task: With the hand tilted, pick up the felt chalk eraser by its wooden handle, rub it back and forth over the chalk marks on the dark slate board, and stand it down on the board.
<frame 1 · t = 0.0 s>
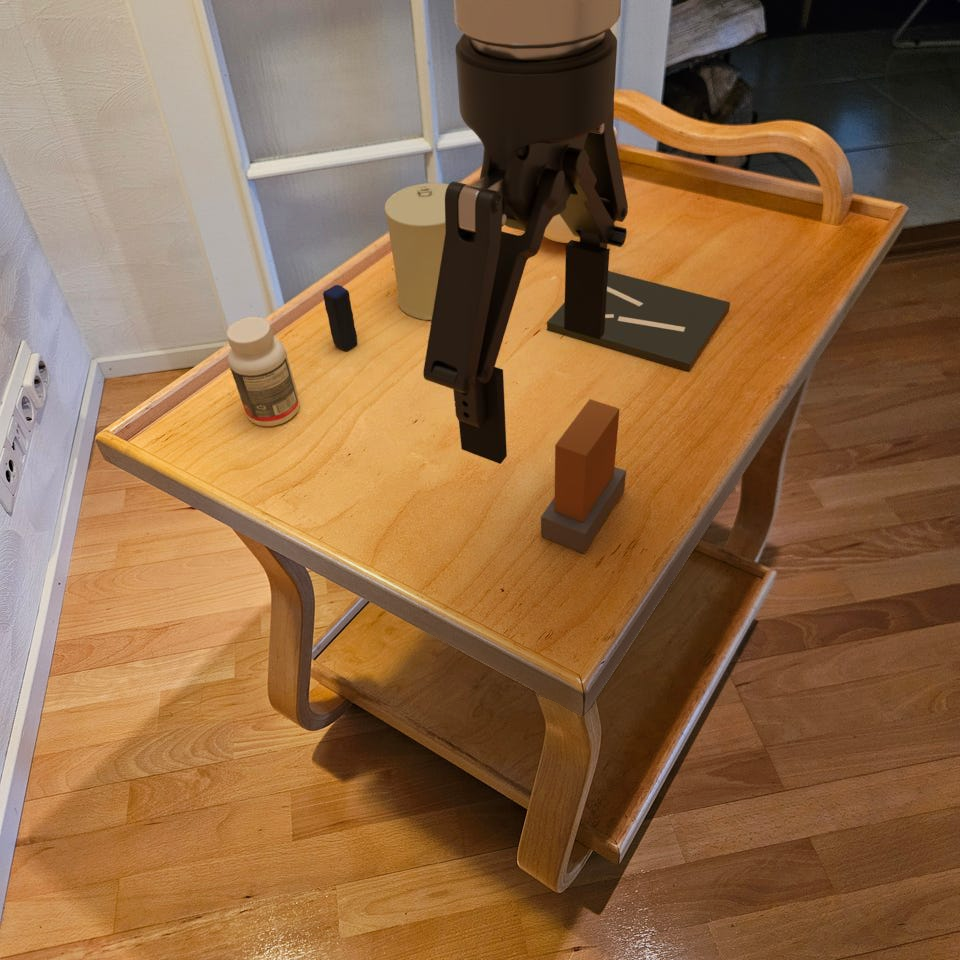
hand: (537, 388, 53), 19 cm above the serving cart, tool pointing down, fingers open, 13 cm apart
piggy bank: (567, 235, 103), on the serving cart
can: (438, 298, 95), on the serving cart
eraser: (346, 346, 89), on the serving cart
pill bottle: (274, 411, 82), on the serving cart
chalk eraser: (583, 513, 71), on the serving cart
slate board: (638, 319, 89), on the serving cart
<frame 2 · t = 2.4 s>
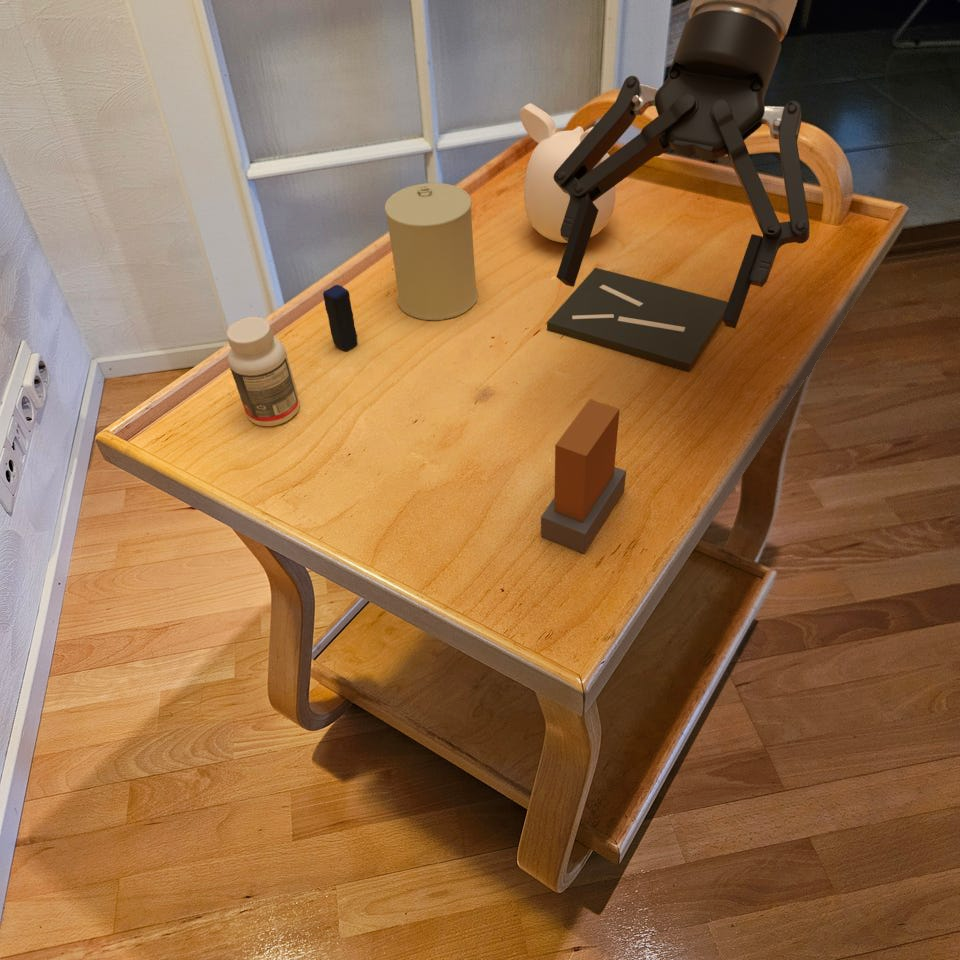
hand: (643, 302, 65), 15 cm above the serving cart, tool tilted 45°, fingers open, 13 cm apart
nothing on the serving cart moved.
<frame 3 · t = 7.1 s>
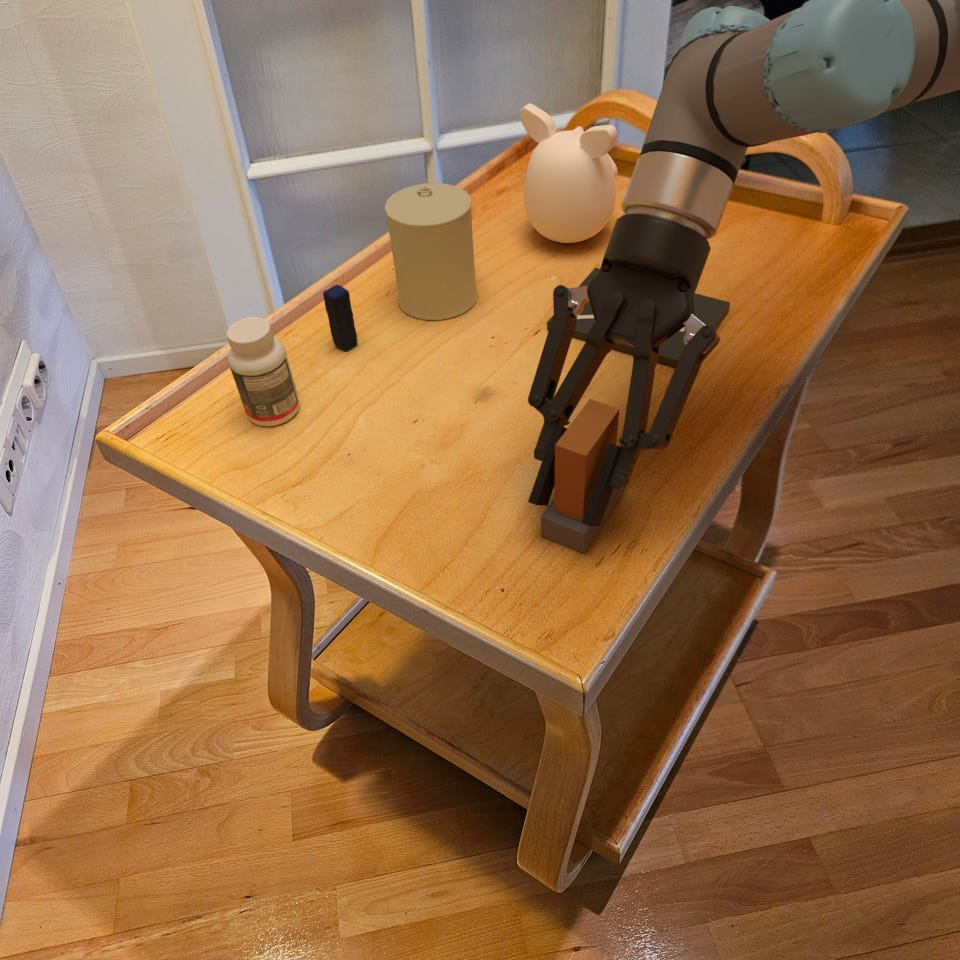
hand: (564, 513, 66), 4 cm above the serving cart, tool tilted 45°, fingers closed on chalk eraser, 4 cm apart
chalk eraser: (583, 513, 71), on the serving cart, touching gripper
everything else where it was.
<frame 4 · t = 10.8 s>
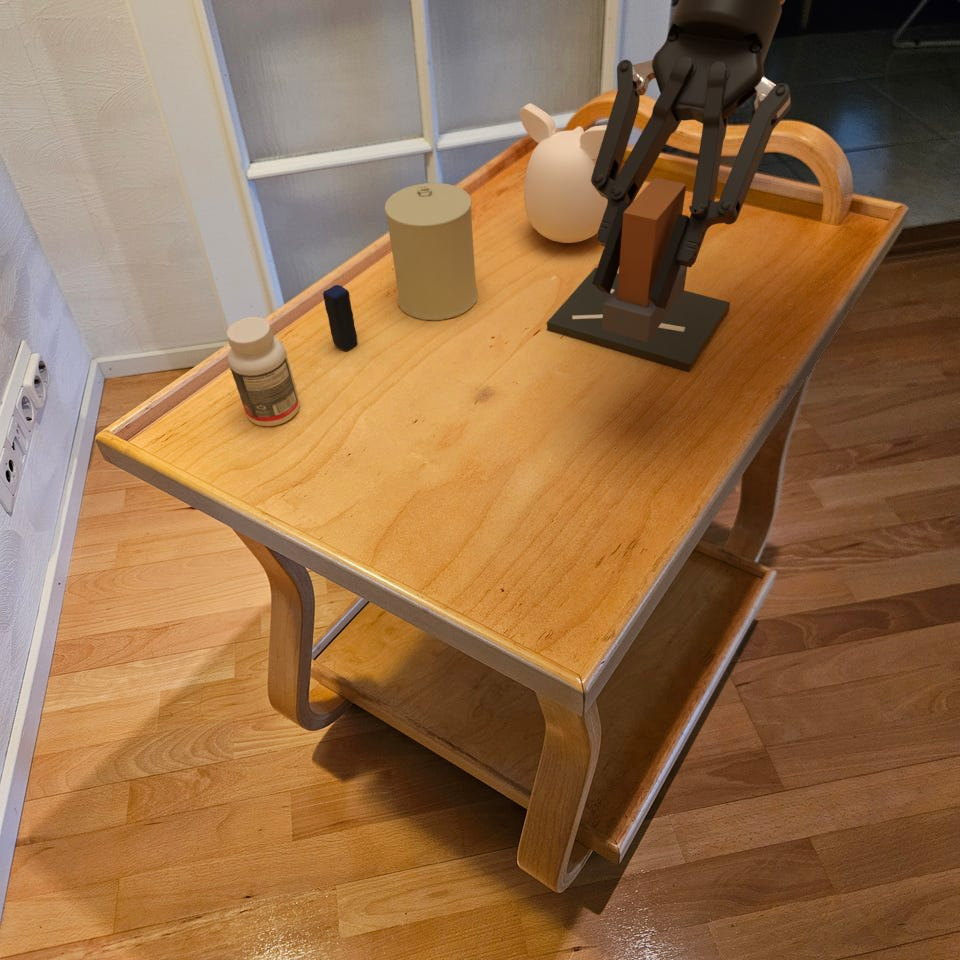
hand: (629, 295, 64), 16 cm above the serving cart, tool tilted 45°, fingers closed on chalk eraser, 4 cm apart
chalk eraser: (643, 310, 69), point 13 cm above the serving cart, touching gripper
everything else where it was.
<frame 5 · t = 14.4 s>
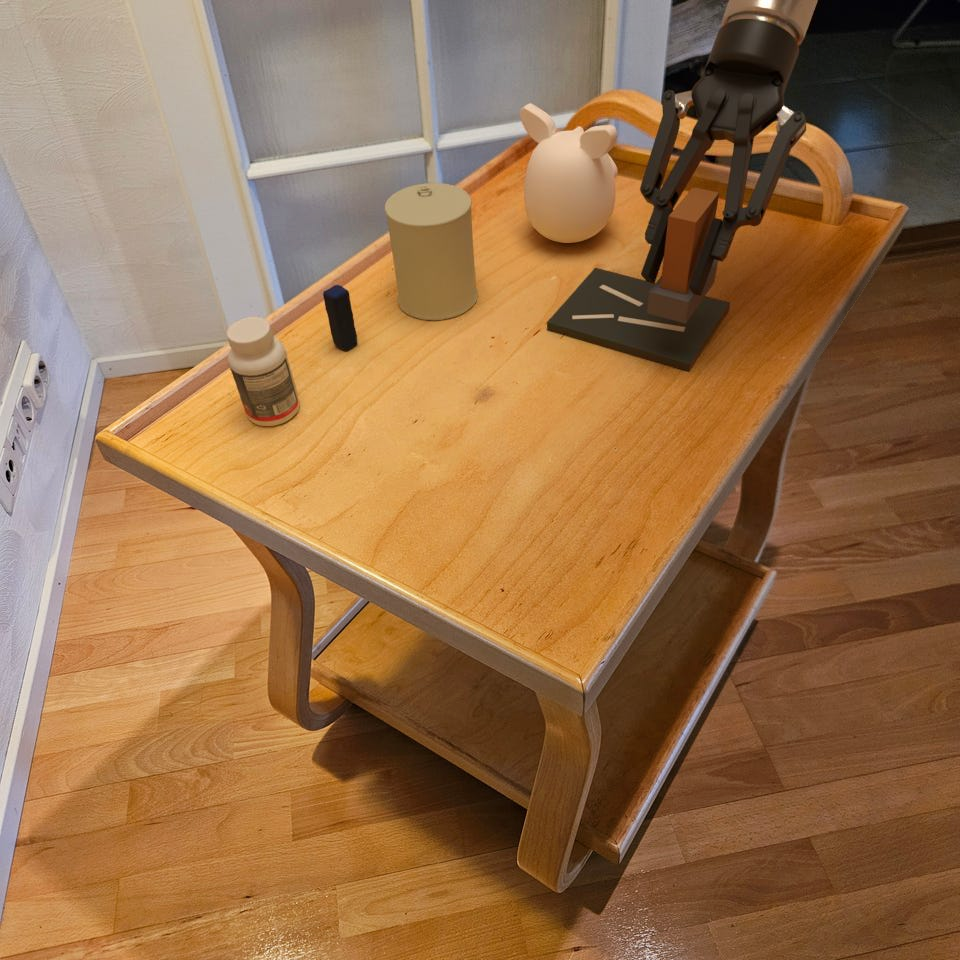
hand: (671, 284, 78), 9 cm above the serving cart, tool tilted 45°, fingers closed on chalk eraser, 4 cm apart
chalk eraser: (681, 297, 82), point 5 cm above the serving cart, touching gripper
everything else where it was.
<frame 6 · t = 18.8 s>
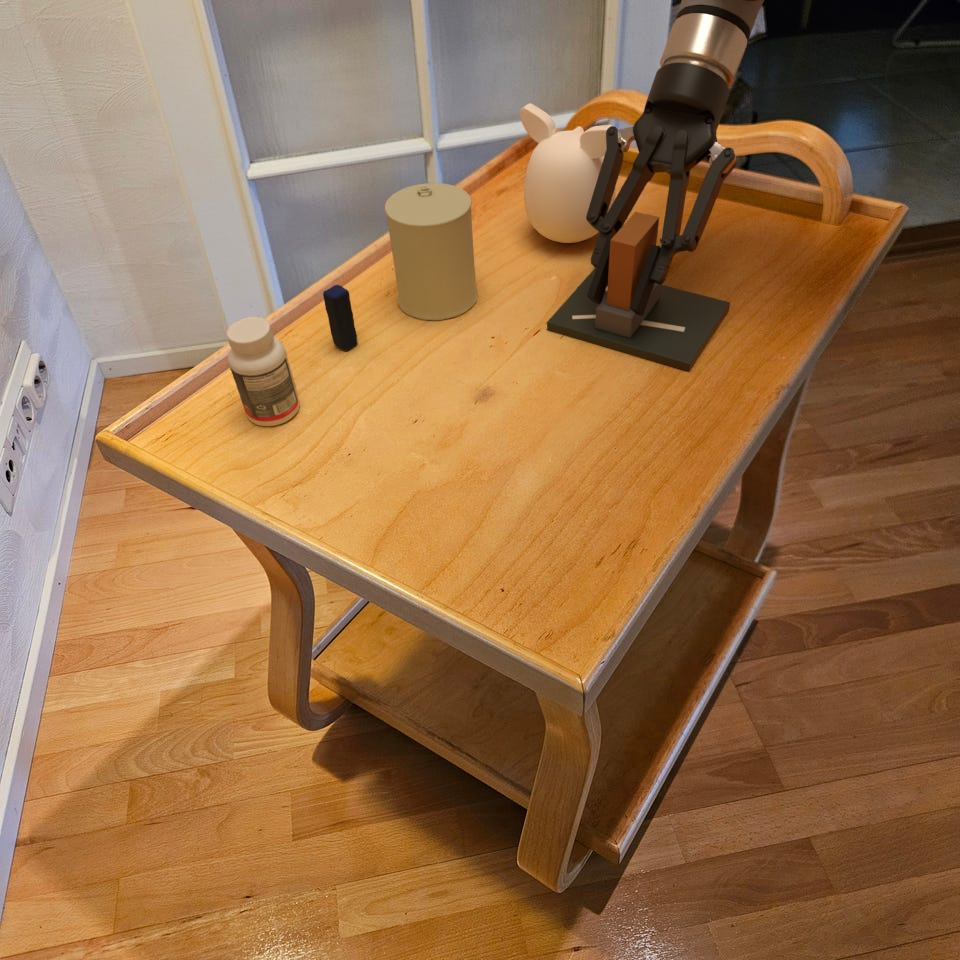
hand: (615, 305, 84), 4 cm above the serving cart, tool tilted 45°, fingers closed on chalk eraser, 4 cm apart
chalk eraser: (628, 312, 89), point 1 cm above the serving cart, touching gripper
everything else where it was.
when the fingers open (4 cm above the serving cart, at t = 22.2 s): chalk eraser stays where it is, resting on slate board.
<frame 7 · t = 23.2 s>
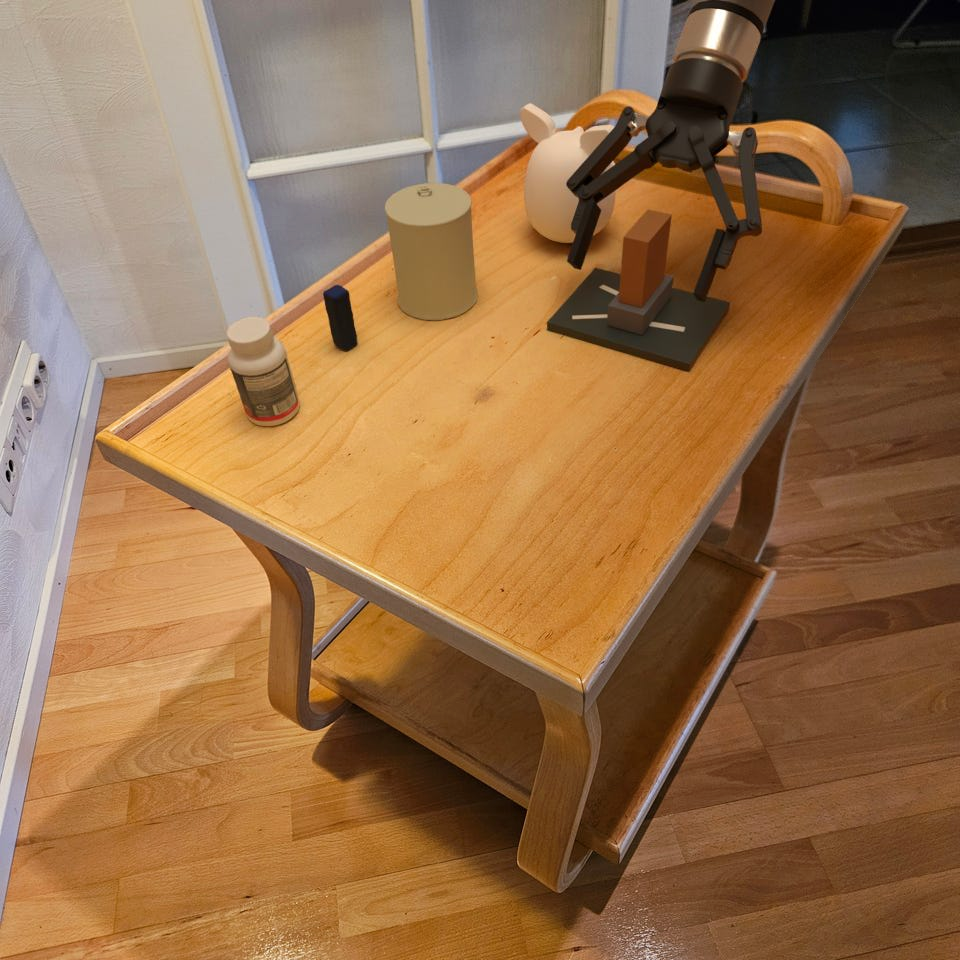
hand: (634, 281, 84), 6 cm above the serving cart, tool tilted 45°, fingers open, 13 cm apart
chalk eraser: (639, 310, 89), point 1 cm above the serving cart, touching slate board
everything else where it was.
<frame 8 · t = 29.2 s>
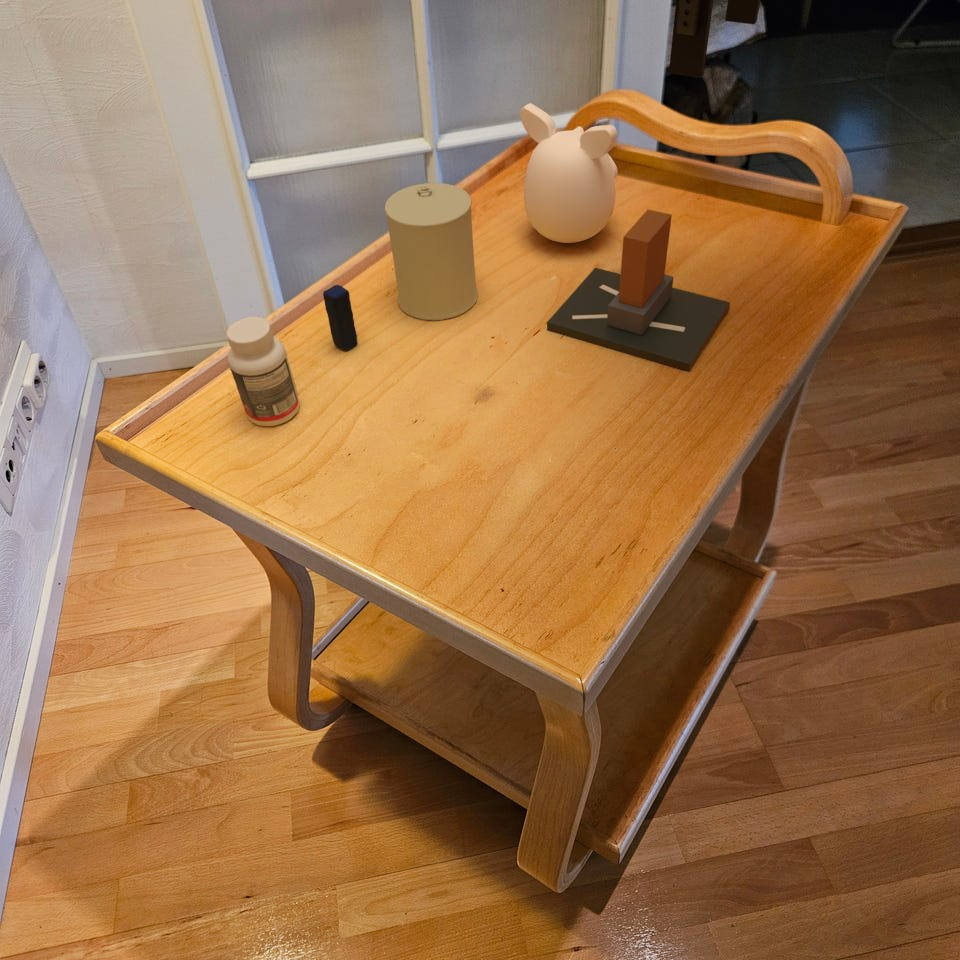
hand: (714, 46, 71), 27 cm above the serving cart, tool pointing down, fingers open, 13 cm apart
nothing on the serving cart moved.
at the end: chalk eraser moved 29.1 cm from its start; chalk eraser inside the target area on the slate board (0.2 cm from its centre), point 1.1 cm above the slate board's base; chalk eraser tilted 0° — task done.
